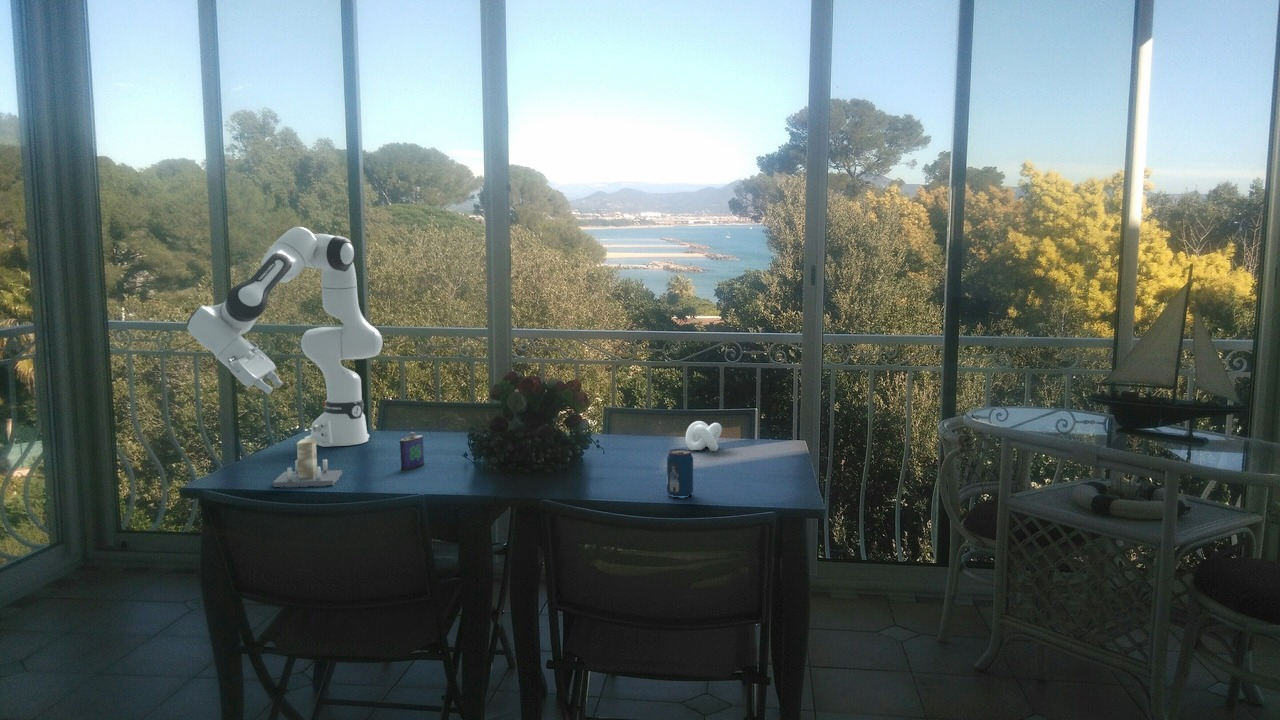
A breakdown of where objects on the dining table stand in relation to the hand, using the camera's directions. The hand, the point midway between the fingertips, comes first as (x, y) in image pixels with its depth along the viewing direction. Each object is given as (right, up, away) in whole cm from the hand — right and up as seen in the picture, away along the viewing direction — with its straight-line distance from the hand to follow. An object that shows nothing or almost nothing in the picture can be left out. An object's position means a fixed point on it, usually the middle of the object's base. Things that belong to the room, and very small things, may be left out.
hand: (275, 388), depth 260 cm
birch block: (+9, -25, 0) cm, 26 cm away
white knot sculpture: (+123, -21, +40) cm, 131 cm away
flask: (+34, -24, +17) cm, 45 cm away
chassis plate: (+9, -26, 0) cm, 28 cm away
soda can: (+113, -28, -14) cm, 117 cm away
